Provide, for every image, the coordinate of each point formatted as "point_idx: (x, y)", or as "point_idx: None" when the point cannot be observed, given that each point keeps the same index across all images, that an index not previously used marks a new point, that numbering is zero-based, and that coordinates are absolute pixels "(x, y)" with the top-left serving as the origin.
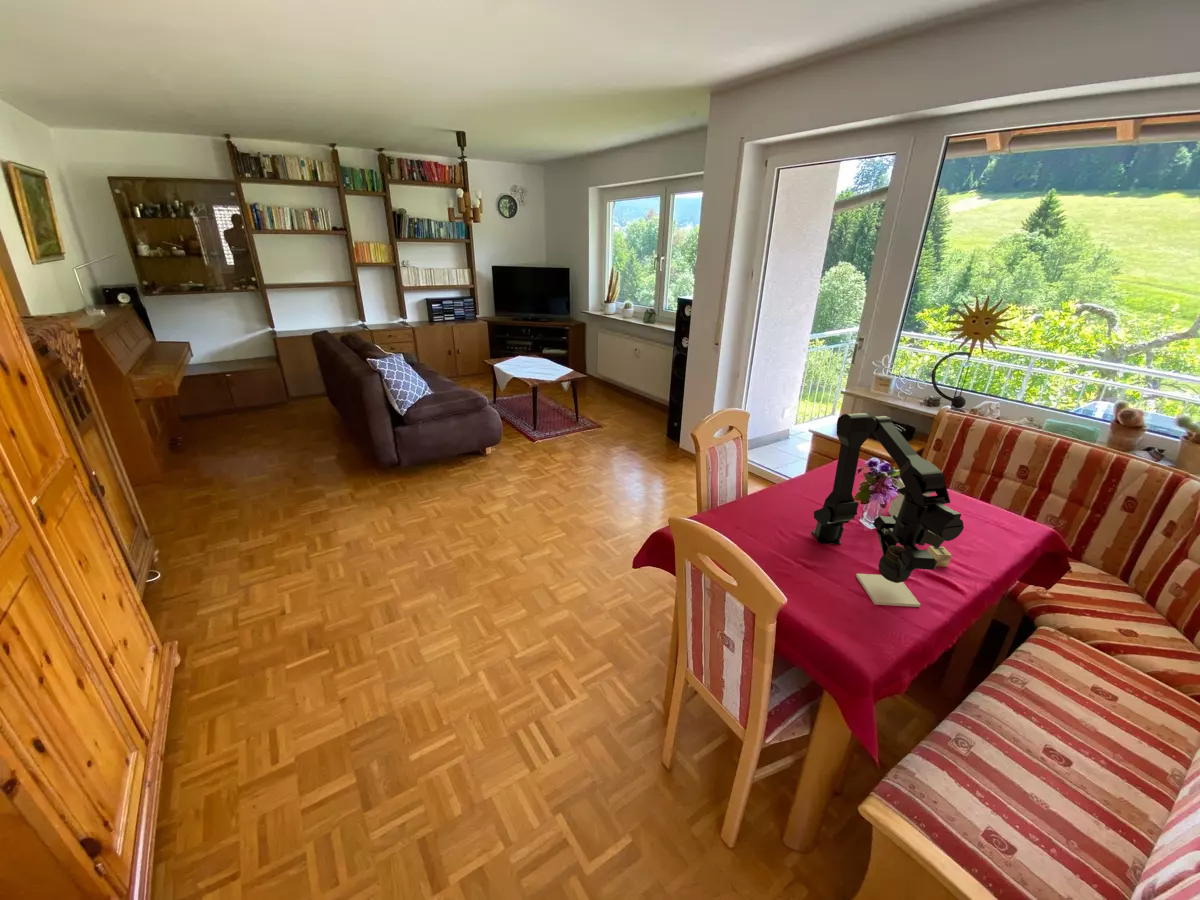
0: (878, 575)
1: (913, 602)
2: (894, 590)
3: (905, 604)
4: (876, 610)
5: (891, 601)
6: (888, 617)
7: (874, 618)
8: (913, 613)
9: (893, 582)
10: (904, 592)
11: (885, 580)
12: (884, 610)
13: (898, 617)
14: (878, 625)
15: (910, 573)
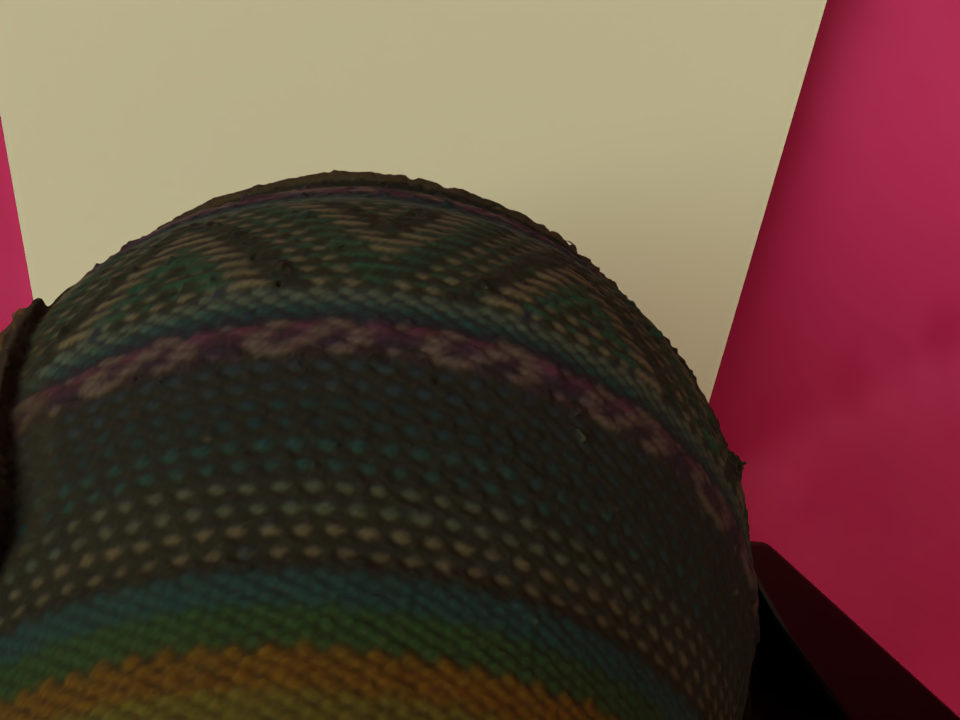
0: (44, 234)
1: (776, 27)
2: (449, 183)
3: (770, 178)
4: (753, 539)
5: (690, 363)
6: (888, 476)
7: (858, 605)
8: (923, 122)
9: (218, 71)
10: (506, 29)
11: (175, 186)
12: (773, 462)
13: (924, 370)
14: (956, 612)
15: (699, 406)
